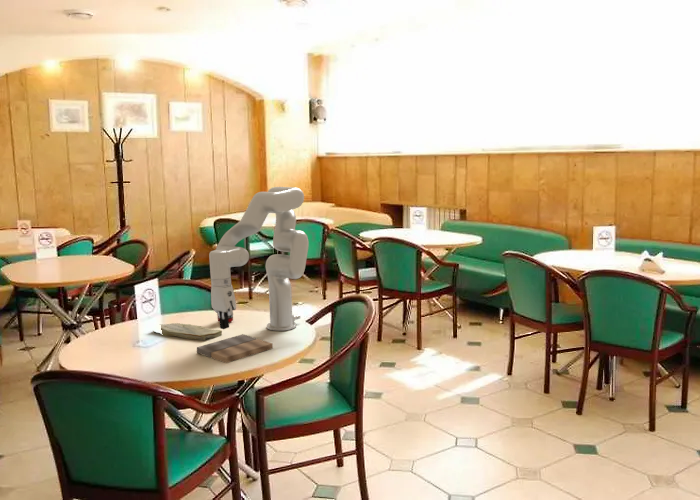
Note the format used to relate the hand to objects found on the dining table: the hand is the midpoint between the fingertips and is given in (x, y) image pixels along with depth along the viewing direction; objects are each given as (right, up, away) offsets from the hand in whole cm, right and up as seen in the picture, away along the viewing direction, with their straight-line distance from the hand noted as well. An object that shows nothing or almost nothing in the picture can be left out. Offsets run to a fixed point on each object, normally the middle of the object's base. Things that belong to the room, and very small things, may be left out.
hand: (224, 327), depth 251 cm
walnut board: (+8, -9, -7) cm, 14 cm away
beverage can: (-7, -2, +37) cm, 38 cm away
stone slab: (-20, -5, +20) cm, 29 cm away
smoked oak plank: (+1, -8, -1) cm, 8 cm away
